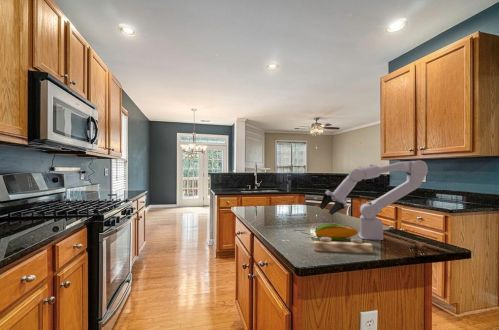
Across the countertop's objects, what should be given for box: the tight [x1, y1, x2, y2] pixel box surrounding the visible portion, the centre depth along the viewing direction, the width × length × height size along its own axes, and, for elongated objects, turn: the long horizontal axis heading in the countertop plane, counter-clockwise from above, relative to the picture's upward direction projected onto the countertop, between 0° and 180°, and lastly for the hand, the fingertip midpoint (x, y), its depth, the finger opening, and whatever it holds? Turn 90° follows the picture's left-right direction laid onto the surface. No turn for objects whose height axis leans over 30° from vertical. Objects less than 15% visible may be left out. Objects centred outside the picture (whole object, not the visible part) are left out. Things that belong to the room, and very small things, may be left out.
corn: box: [315, 223, 359, 242], centre depth 115 cm, size 7×8×20 cm
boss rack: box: [313, 237, 374, 254], centre depth 102 cm, size 22×7×4 cm, turn 78°
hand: (325, 210), depth 124 cm, fingers open, 7 cm apart
